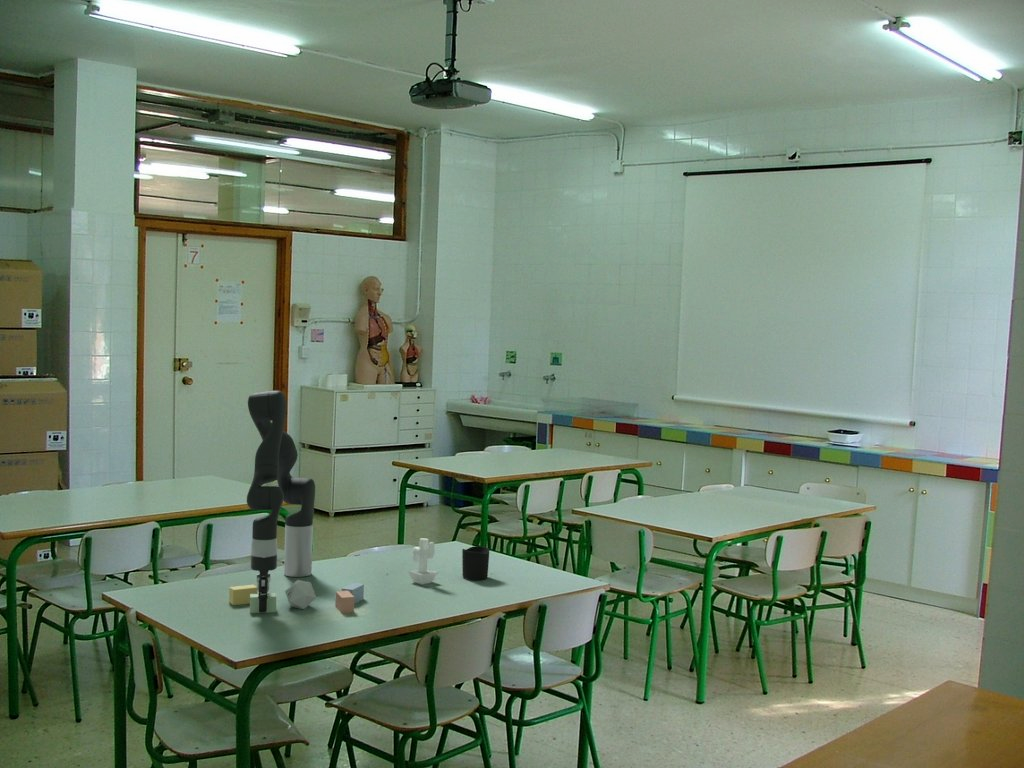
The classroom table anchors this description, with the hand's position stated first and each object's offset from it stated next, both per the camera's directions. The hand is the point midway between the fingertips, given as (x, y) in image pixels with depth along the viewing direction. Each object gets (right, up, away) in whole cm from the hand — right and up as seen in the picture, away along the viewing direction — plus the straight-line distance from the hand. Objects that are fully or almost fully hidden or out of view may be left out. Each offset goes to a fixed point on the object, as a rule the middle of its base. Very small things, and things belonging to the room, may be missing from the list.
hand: (262, 608), depth 298 cm
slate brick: (+24, -1, +14) cm, 28 cm away
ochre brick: (-8, 0, +8) cm, 12 cm away
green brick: (0, -1, 0) cm, 1 cm away
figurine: (+44, 0, +40) cm, 60 cm away
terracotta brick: (+24, -1, +5) cm, 24 cm away
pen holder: (+61, -1, +49) cm, 79 cm away
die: (+10, -1, +5) cm, 11 cm away
